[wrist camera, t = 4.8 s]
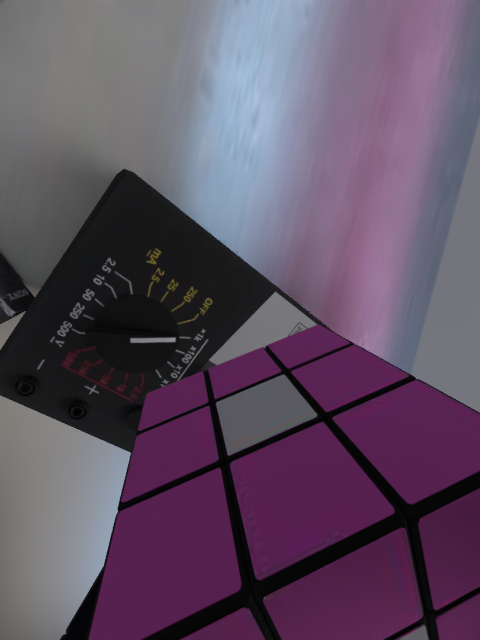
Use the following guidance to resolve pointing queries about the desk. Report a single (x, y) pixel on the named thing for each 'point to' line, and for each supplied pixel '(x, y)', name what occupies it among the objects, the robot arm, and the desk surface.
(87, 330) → the multimeter
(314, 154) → the desk surface
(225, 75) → the desk surface
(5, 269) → the box
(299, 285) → the desk surface
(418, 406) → the puzzle toy
